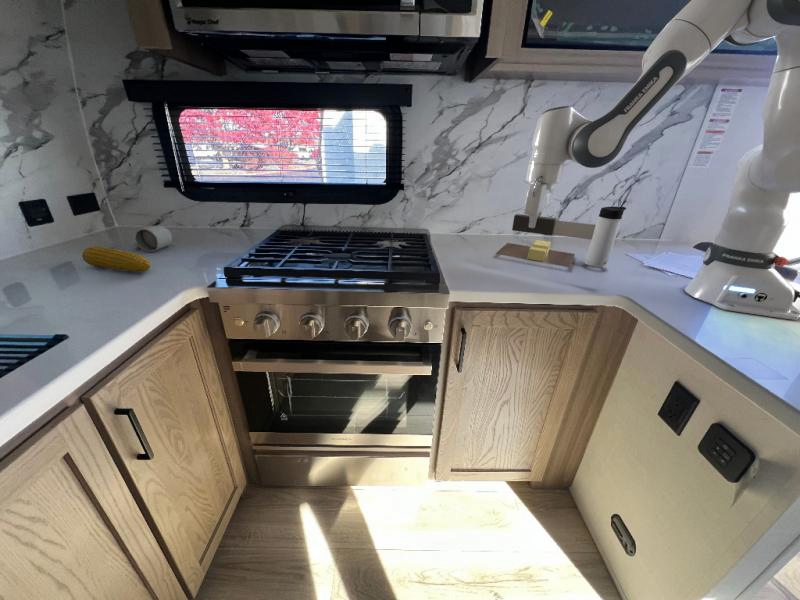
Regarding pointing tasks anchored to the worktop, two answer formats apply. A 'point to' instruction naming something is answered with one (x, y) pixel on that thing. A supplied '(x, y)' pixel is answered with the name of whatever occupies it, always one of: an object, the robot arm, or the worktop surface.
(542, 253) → the butter slice
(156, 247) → the ceramic mug
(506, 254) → the cutting board
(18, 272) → the worktop surface
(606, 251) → the travel mug
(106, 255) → the food
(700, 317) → the worktop surface
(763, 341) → the worktop surface
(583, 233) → the knife
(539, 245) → the butter block
